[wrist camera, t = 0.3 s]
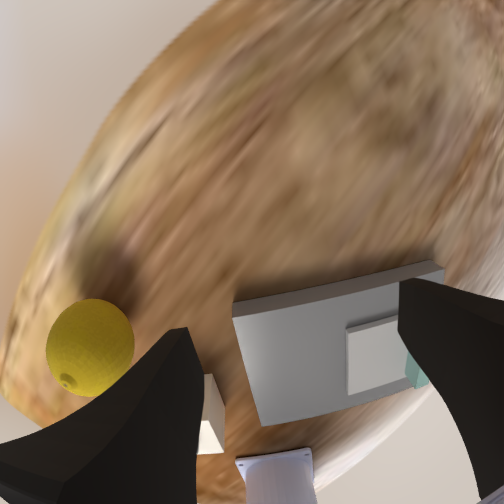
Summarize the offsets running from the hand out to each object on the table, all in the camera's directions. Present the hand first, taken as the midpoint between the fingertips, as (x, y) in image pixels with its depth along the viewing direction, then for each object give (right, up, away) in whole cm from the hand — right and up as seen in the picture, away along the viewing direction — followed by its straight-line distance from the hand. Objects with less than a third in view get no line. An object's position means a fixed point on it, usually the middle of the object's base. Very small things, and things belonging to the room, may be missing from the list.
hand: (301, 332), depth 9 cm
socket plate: (+5, -4, +12) cm, 14 cm away
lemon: (-12, -2, +11) cm, 16 cm away
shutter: (+8, -5, +10) cm, 14 cm away
